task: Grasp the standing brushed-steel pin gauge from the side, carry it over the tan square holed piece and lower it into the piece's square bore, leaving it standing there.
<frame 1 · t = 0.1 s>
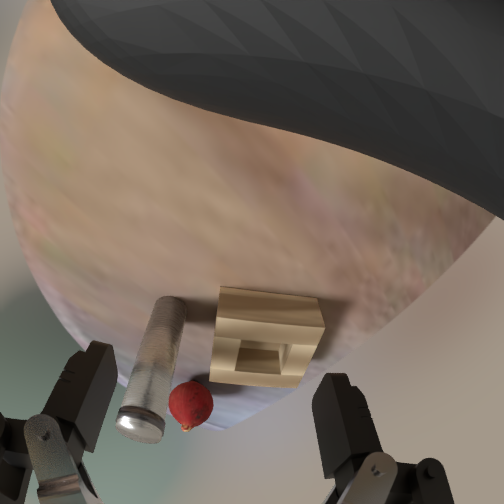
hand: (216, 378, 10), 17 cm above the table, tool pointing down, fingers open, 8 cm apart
pin gauge: (170, 309, 31), on the table
tan square holed piece: (260, 327, 32), on the table
onion: (194, 380, 38), on the table
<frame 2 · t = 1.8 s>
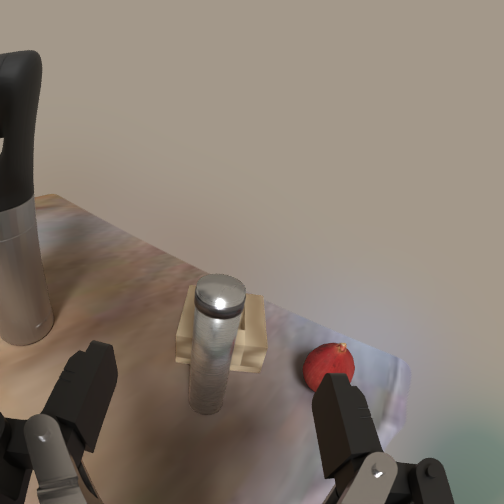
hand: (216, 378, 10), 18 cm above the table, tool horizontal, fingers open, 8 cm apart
pin gauge: (205, 401, 28), on the table
tan square holed piece: (220, 340, 37), on the table
onion: (317, 390, 32), on the table
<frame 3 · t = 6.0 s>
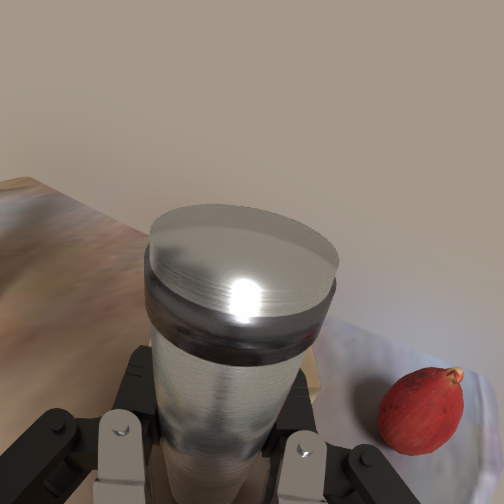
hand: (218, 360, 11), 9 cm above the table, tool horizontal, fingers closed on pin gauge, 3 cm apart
pin gauge: (203, 488, 12), on the table, touching gripper
tan square holed piece: (226, 367, 21), on the table
onion: (392, 442, 16), on the table
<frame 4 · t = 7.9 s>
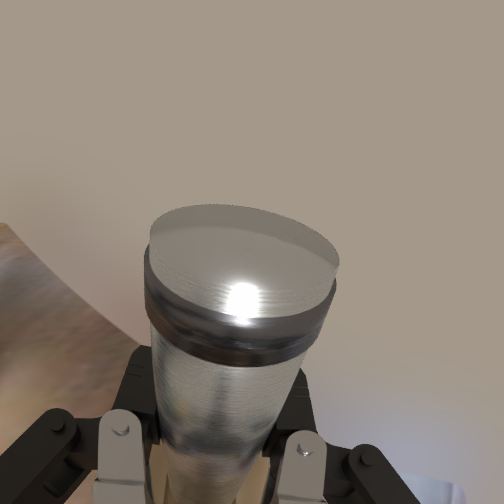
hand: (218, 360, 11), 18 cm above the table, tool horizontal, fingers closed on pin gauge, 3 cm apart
pin gauge: (203, 488, 12), point 9 cm above the table, touching gripper
when the fingers open (10 cm above the table, at t = 9.9 s): pin gauge stays where it is, resting on tan square holed piece.
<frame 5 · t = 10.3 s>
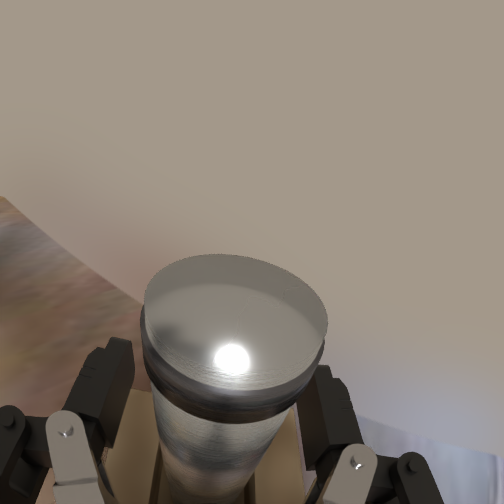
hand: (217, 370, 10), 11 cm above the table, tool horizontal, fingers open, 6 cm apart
pin gauge: (202, 495, 12), point 1 cm above the table, touching tan square holed piece
tan square holed piece: (201, 497, 13), on the table
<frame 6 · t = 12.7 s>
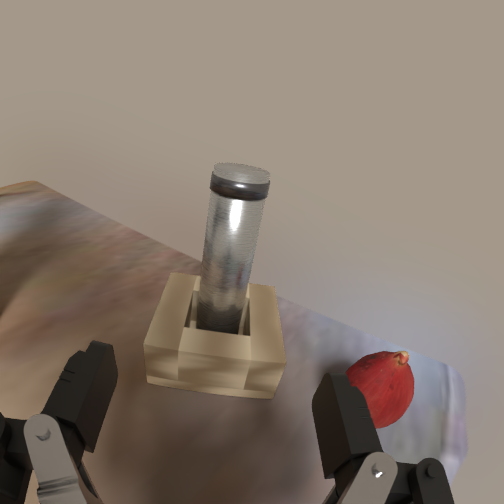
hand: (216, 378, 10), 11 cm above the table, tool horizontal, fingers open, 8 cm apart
pin gauge: (215, 343, 25), point 1 cm above the table, touching tan square holed piece
tan square holed piece: (214, 349, 26), on the table
onion: (355, 419, 21), on the table
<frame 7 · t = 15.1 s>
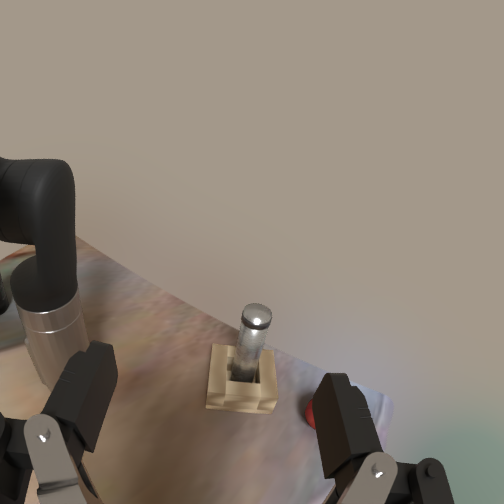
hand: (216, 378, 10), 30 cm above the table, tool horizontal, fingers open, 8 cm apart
pin gauge: (240, 384, 44), point 1 cm above the table, touching tan square holed piece
tan square holed piece: (239, 387, 44), on the table
onion: (316, 425, 39), on the table
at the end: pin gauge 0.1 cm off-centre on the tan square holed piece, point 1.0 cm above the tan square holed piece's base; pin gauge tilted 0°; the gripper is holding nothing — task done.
